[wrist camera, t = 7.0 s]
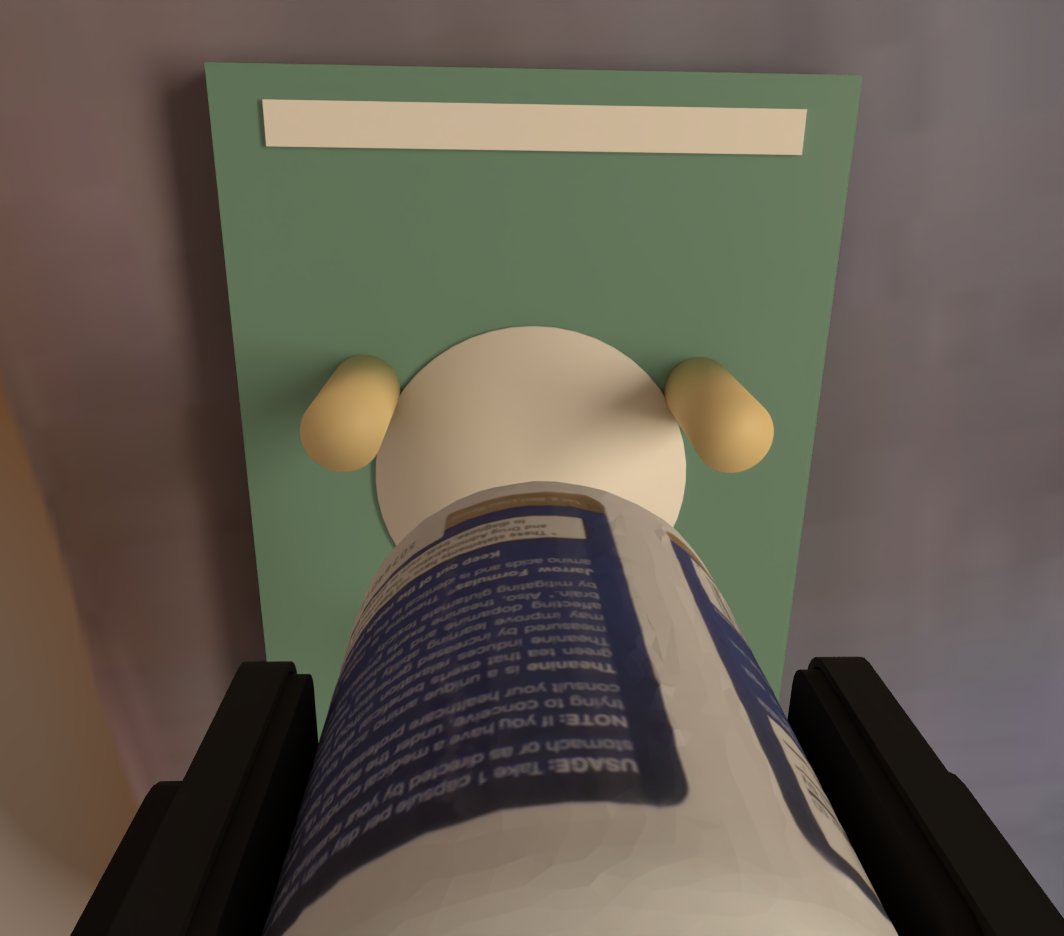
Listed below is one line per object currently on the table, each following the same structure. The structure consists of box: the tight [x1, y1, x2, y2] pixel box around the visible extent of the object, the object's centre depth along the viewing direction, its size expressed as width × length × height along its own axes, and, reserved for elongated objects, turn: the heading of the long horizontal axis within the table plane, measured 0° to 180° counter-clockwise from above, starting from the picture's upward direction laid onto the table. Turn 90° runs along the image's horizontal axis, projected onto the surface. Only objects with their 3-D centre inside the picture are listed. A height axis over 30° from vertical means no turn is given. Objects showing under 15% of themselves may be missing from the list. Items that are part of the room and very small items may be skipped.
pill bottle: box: [261, 481, 898, 936], centre depth 8 cm, size 5×5×10 cm
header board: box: [204, 62, 863, 742], centre depth 18 cm, size 16×12×4 cm
